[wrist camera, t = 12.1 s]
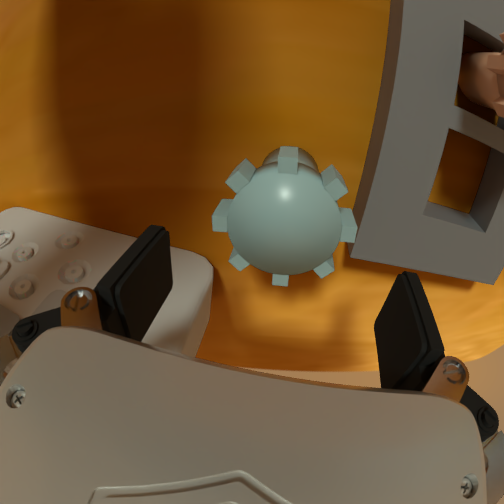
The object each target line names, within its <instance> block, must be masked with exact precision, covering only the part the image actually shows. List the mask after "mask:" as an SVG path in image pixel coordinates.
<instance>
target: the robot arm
mask: <svg viewBox="0 0 504 504" xmlns="http://www.w3.org/2000/svg"><path fill="white" fill-rule="evenodd" d="M172 287H173V276H172V264H171V252H170V238H169V232H168V231H166V229H165V227H163V226H157V225H150V226H149V227H148V228H147V229H146V230H145V231H144V232H143V233H142V234H141V235H140V236H139V237H138V238H137V240H136V241H135V242H134V243H133V244H132V245H131V246H130V247H129V248H128V249H127V250H126V251H125V252H124V254H123V255H122V256H121V257H120V258H119V259H118V260H117V261H116V262H115V264H114V265H113V266H112V267H111V268H110V269H109V270H108V271H107V273H106V274H105V275H104V276H103V277H102V278H101V280H100V281H99V282H98V283H97V286H96V287H95V288H94V289H93V290H92V289H91V288H88V287H77V288H74V289H71V290H70V291H68V292H67V293H66V294H65V295H64V296H63V298H62V300H61V307H58V308H55V309H51V310H48V311H45V312H42V313H38V314H35V315H32V316H29V317H26V318H23V319H21V320H20V321H19V322H17V324H16V325H15V326H14V328H13V330H12V335H11V336H9V335H8V334H6V335H5V336H3V337H1V338H0V504H496V503H497V502H498V501H499V500H500V498H502V496H503V495H504V434H503V432H502V431H499V432H498V431H497V429H498V426H499V420H498V415H497V413H496V411H495V410H494V409H493V408H492V407H491V406H490V405H489V404H488V403H487V402H486V401H485V400H484V399H482V398H481V397H480V396H479V395H478V394H477V393H476V392H475V391H473V390H472V389H471V388H470V387H469V386H468V385H467V384H468V381H469V372H468V370H467V367H466V366H465V364H464V363H463V362H462V361H461V360H459V359H458V358H456V357H452V356H447V357H445V354H444V346H443V343H442V340H441V337H440V334H439V331H438V328H437V325H436V322H435V319H434V316H433V313H432V310H431V308H430V305H429V302H428V300H427V297H426V294H425V292H424V289H423V287H422V284H421V282H420V279H419V277H418V275H417V274H416V273H412V272H407V271H404V272H403V273H402V274H398V276H397V278H396V280H395V282H394V284H393V286H392V288H391V290H390V293H389V295H388V297H387V299H386V301H385V303H384V305H383V307H382V309H381V311H380V313H379V315H378V317H377V318H376V321H375V324H374V331H375V338H376V346H377V354H378V362H379V371H380V381H381V388H372V387H361V386H351V385H341V384H332V383H325V382H317V381H310V380H303V379H297V378H291V377H285V376H279V375H273V374H268V373H262V372H257V371H252V370H248V369H243V368H238V367H233V366H229V365H225V364H220V363H216V362H212V361H208V360H204V359H200V358H196V357H192V356H188V355H184V354H181V353H177V352H173V351H170V350H167V349H163V348H160V347H156V346H153V345H149V344H146V343H143V342H141V341H142V340H143V338H144V336H145V334H146V333H147V331H148V329H149V327H150V326H151V324H152V322H153V320H154V319H155V317H156V315H157V314H158V312H159V310H160V308H161V307H162V305H163V303H164V302H165V300H166V298H167V297H168V295H169V293H170V292H171V290H172Z"/></svg>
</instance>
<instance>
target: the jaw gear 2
mask: <svg viewBox="0 0 504 504" xmlns="http://www.w3.org/2000/svg"><path fill="white" fill-rule="evenodd" d="M499 35H500V37H501V39H502V41H503V43H504V33H501V34H499ZM458 84H459V87H460V89H461V91H462V92H463V94H464V95H465V96H466V97H467V98H468V99H469V100H470V101H471V102H473V103H475V104H478V105H481V106H484V107H487V108H490V109H494V110H495V111H496V113H497V115H498V116H500V117H503V118H504V49H503V51H502V52H501V53H497V52H472V53H466V54H464V55H463V56H462V57H461V64H460V71H459V78H458Z"/></svg>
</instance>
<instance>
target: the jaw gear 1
mask: <svg viewBox="0 0 504 504" xmlns="http://www.w3.org/2000/svg"><path fill="white" fill-rule="evenodd" d="M225 183H226V184H227V185H228V186H229V187H230V188H231V189H232V190H233V191H234V192H235V193H236V196H235V197H234V199H222V200H221V201H220V203H219V205H218V206H217V208H216V210H215V211H214V213H213V215H212V226H213V231H218V232H228V234H229V238H230V240H231V242H232V244H233V246H234V248H233V250H232V253H231V256H230V258H229V262H230V263H231V264H232V265H233V266H234V267H236V268H237V269H238V270H239V271H241V270H243V269H244V268H245V267H247V266H248V265H249V264H251V265H253V266H254V267H256V268H258V269H260V270H262V271H265V272H268V273H272V274H273V278H272V285H278V286H288V278H289V275H295V274H301V273H304V272H308V271H310V270H312V269H313V270H314V271H315V272H316V273H317V274H318V275H319V276H320V278H321V279H322V278H323V277H325V276H327V275H328V274H330V273H331V272H333V271H334V263H333V256H332V253H333V252H334V251H335V249H336V247H337V245H338V243H339V240H340V242H351V243H354V242H355V237H356V233H357V225H356V222H355V219H354V216H353V213H352V210H351V209H349V208H339V207H338V204H337V200H338V199H339V198H340V197H342V196H343V195H344V194H346V193H347V192H348V189H347V187H346V185H345V182H344V180H343V177H342V176H341V175H340V173H339V172H338V171H337V170H336V169H335V167H334V166H333V165H330V166H329V167H328V168H326V169H325V170H324V171H323V172H321V174H320V173H319V171H318V167H317V164H316V162H315V160H314V158H313V157H312V156H311V155H310V154H309V153H308V152H306V151H305V150H303V149H301V148H298V147H293V146H281V147H280V148H278V149H276V150H274V151H272V152H271V153H270V154H269V155H268V156H267V157H266V158H265V160H264V162H263V164H262V166H261V167H259V168H257V169H256V168H255V167H254V166H253V165H252V164H251V163H250V162H249V161H248V160H247V159H246V158H245V159H244V160H243V161H242V162H241V163H240V164H239V165H238V166H237V167H236V168H235V169H234V170H233V172H232V173H231V174H230V176H229V177H228V179H227V180H226V182H225Z"/></svg>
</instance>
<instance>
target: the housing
mask: <svg viewBox="0 0 504 504" xmlns="http://www.w3.org/2000/svg"><path fill="white" fill-rule="evenodd" d="M501 33H504V0H391V5H390V17H389V28H388V37H387V45H386V53H385V61H384V68H383V74H382V81H381V87H380V93H379V98H378V104H377V109H376V114H375V120H374V125H373V129H372V134H371V139H370V144H369V148H368V152H367V157H366V161H365V165H364V169H363V174H362V178H361V182H360V185H359V189H358V193H357V197H356V201H355V204H354V208H353V212H352V213H353V216H354V219H355V222H356V225H357V233H356V237H355V242H354V243H351V242H347V244H348V249H349V255H350V257H351V258H356V259H362V260H367V261H372V262H378V263H383V264H388V265H394V266H399V267H404V268H409V269H415V270H420V271H425V272H430V273H435V274H441V275H446V276H451V277H456V278H461V279H466V280H471V281H476V282H481V283H486V284H491V285H494V283H495V281H496V280H497V278H498V276H499V274H500V273H501V271H502V269H503V267H504V118H503V117H500V116H499V119H498V123H497V126H495V125H493V124H491V123H490V122H488V121H486V120H484V119H482V118H480V117H478V116H476V115H474V114H472V113H470V112H468V111H466V110H463V109H461V108H459V107H457V106H455V105H454V101H455V96H456V91H457V85H458V78H459V71H460V64H461V55H462V46H463V34H464V35H466V36H468V37H470V38H472V39H474V40H475V41H477V42H479V43H481V44H482V45H484V46H486V47H487V48H489V49H491V50H492V51H494V52H497V53H501V52H502V51H503V49H504V43H503V41H502V39H501V37H500V35H499V34H501ZM449 128H450V129H453V130H455V131H458V132H460V133H462V134H465V135H467V136H469V137H471V138H473V139H476V140H478V141H480V142H482V143H484V144H486V145H488V146H490V147H492V148H491V151H490V155H489V158H488V162H487V165H486V168H485V171H484V174H483V178H482V181H481V183H480V186H479V189H478V192H477V195H476V198H475V200H474V203H473V205H472V208H471V211H470V213H469V214H467V213H464V212H461V211H458V210H455V209H452V208H448V207H445V206H442V205H439V204H435V203H432V202H428V198H429V195H430V192H431V189H432V186H433V183H434V180H435V177H436V173H437V170H438V167H439V163H440V160H441V156H442V153H443V149H444V145H445V141H446V138H447V134H448V129H449Z"/></svg>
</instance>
